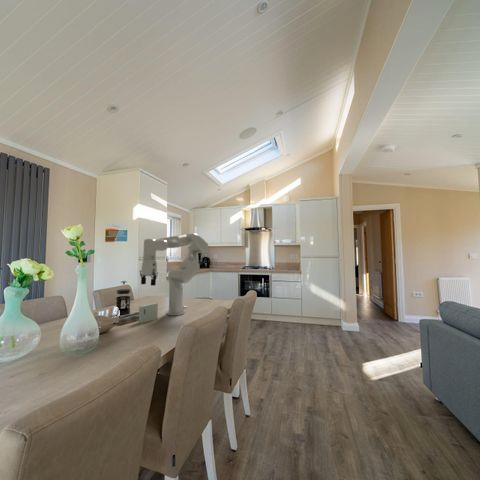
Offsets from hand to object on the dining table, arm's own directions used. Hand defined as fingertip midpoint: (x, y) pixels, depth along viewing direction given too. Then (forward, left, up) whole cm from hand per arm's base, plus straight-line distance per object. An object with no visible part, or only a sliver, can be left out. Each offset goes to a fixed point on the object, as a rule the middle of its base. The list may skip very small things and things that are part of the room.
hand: (148, 284), depth 156 cm
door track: (+5, -10, -23) cm, 26 cm away
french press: (0, -27, -23) cm, 36 cm away
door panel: (-1, 0, -23) cm, 23 cm away
